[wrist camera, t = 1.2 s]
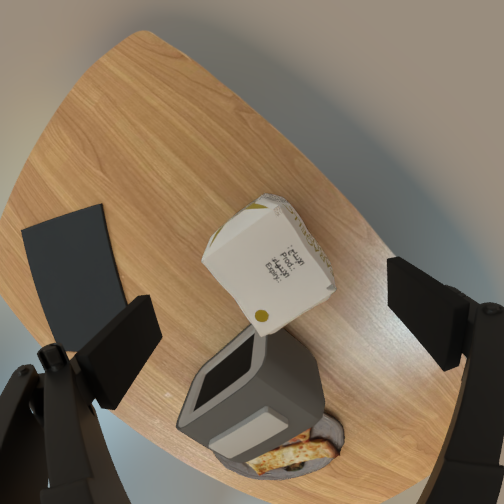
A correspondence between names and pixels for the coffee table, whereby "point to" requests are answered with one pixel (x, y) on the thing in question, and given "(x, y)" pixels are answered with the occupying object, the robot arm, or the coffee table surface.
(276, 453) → the food plate
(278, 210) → the juice carton
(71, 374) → the robot arm
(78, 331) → the drinks mat
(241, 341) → the alarm clock
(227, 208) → the coffee table surface
